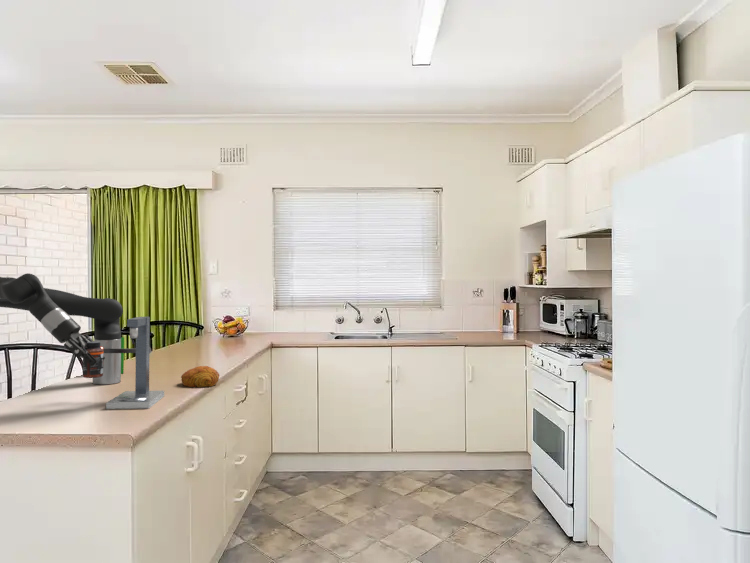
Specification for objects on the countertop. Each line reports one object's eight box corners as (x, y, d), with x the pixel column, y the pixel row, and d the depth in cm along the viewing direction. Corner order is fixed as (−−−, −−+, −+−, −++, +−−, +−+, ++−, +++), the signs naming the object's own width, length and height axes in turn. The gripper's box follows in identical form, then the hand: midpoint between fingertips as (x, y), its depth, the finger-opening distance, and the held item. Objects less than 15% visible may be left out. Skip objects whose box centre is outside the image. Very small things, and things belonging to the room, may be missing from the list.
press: (106, 409, 170) (106, 320, 169) (125, 396, 187) (126, 316, 187) (149, 408, 171) (149, 320, 171) (164, 396, 189) (164, 316, 189)
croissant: (218, 385, 221) (219, 365, 222) (219, 387, 206) (220, 366, 207) (181, 386, 217) (182, 366, 218) (179, 388, 202) (180, 366, 203)
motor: (129, 372, 236) (129, 326, 236) (113, 375, 228) (113, 328, 228) (111, 370, 240) (111, 326, 240) (94, 374, 231) (94, 327, 231)
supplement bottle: (107, 376, 176) (108, 341, 175) (90, 379, 170) (91, 343, 170) (94, 374, 178) (95, 340, 178) (78, 377, 173) (78, 342, 173)
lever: (91, 356, 185) (91, 346, 185) (95, 355, 188) (95, 345, 188) (148, 356, 187) (148, 346, 187) (151, 355, 190) (151, 344, 190)
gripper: (62, 331, 180) (99, 366, 181) (40, 335, 165) (80, 374, 167) (79, 315, 180) (115, 351, 182) (59, 318, 166) (99, 357, 167)
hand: (98, 362), depth 174 cm, fingers closed on supplement bottle, 6 cm apart
